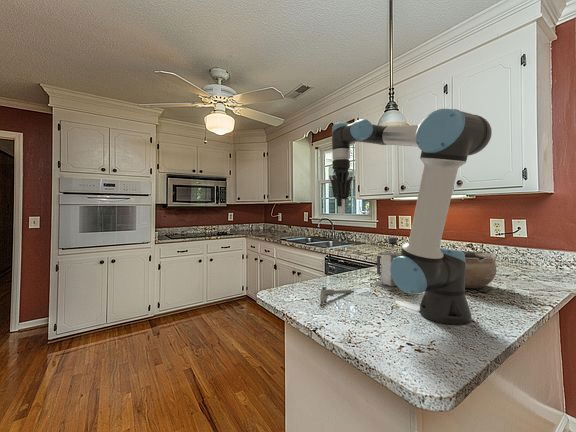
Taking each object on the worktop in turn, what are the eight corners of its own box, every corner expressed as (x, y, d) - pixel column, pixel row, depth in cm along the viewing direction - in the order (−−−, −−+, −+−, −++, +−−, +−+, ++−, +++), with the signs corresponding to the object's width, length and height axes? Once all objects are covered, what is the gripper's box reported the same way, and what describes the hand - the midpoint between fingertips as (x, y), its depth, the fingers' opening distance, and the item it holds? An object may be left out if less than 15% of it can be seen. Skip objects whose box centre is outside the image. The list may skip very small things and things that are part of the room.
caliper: (322, 303, 105) (322, 288, 105) (320, 303, 106) (320, 287, 106) (353, 292, 119) (353, 278, 119) (351, 291, 120) (351, 277, 119)
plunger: (404, 275, 126) (404, 237, 125) (395, 278, 121) (395, 238, 120) (389, 272, 132) (389, 236, 131) (380, 275, 127) (380, 237, 126)
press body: (408, 284, 125) (408, 253, 125) (396, 288, 119) (396, 256, 119) (383, 279, 136) (383, 250, 135) (371, 282, 130) (371, 252, 129)
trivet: (418, 286, 125) (418, 284, 125) (399, 293, 115) (399, 291, 115) (387, 279, 138) (386, 277, 138) (367, 285, 128) (367, 283, 128)
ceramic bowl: (476, 296, 110) (476, 260, 110) (428, 283, 130) (429, 252, 130) (507, 289, 119) (507, 255, 119) (458, 277, 139) (459, 248, 139)
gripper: (344, 162, 125) (344, 213, 125) (324, 159, 117) (324, 214, 117) (357, 160, 119) (357, 213, 119) (337, 157, 111) (337, 214, 112)
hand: (341, 213), depth 118 cm, fingers closed
